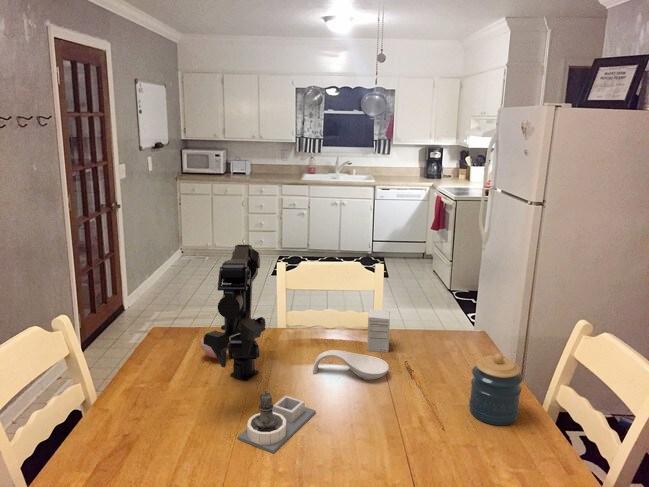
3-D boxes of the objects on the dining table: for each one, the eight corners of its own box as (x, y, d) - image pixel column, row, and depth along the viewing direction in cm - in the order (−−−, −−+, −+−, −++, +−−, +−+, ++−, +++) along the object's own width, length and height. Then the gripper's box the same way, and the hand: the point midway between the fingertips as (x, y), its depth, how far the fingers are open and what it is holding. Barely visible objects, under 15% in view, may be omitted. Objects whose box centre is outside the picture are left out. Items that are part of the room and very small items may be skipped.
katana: (439, 434, 137) (440, 426, 136) (403, 366, 170) (404, 358, 169) (444, 434, 137) (445, 425, 136) (407, 365, 170) (408, 358, 170)
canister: (517, 405, 149) (524, 347, 144) (518, 430, 137) (525, 369, 132) (470, 396, 153) (475, 340, 148) (466, 421, 141) (472, 361, 136)
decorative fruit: (235, 356, 175) (234, 329, 173) (217, 366, 169) (216, 337, 166) (214, 349, 180) (213, 322, 178) (196, 359, 174) (195, 331, 171)
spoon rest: (388, 367, 170) (389, 347, 168) (388, 386, 159) (389, 364, 157) (315, 363, 172) (315, 343, 171) (310, 381, 161) (310, 359, 159)
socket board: (282, 401, 149) (282, 389, 148) (315, 413, 144) (315, 400, 143) (237, 439, 132) (237, 425, 131) (273, 453, 127) (273, 439, 126)
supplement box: (367, 341, 188) (369, 308, 184) (388, 343, 187) (390, 310, 183) (366, 351, 180) (367, 316, 177) (388, 352, 179) (389, 318, 176)
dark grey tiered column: (279, 438, 131) (278, 395, 128) (255, 440, 131) (253, 397, 127) (277, 424, 137) (276, 383, 134) (255, 426, 136) (253, 385, 133)
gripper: (233, 321, 132) (233, 380, 134) (279, 305, 147) (278, 358, 150) (201, 313, 138) (202, 370, 140) (249, 299, 153) (249, 350, 156)
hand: (235, 362), depth 146 cm, fingers open, 9 cm apart
